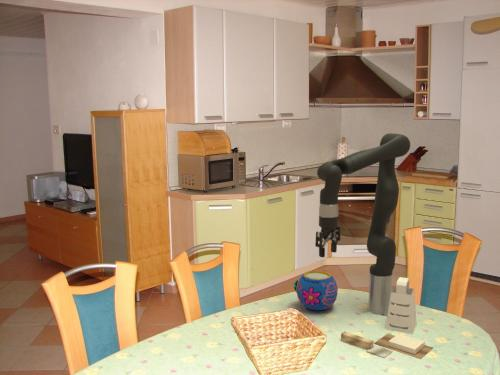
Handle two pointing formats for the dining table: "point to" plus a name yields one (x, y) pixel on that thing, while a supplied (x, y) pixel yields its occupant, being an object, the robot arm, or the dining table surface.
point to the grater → (402, 307)
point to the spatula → (365, 344)
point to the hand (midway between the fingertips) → (327, 254)
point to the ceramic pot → (316, 290)
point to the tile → (406, 344)
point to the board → (384, 343)
